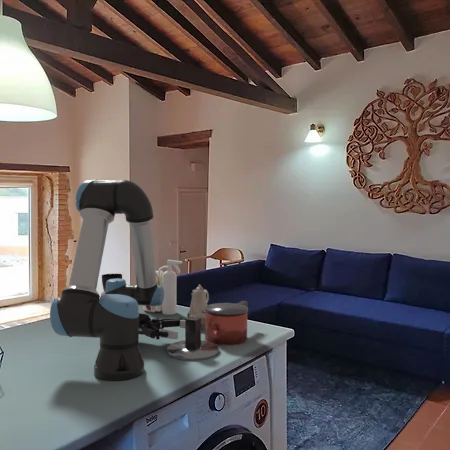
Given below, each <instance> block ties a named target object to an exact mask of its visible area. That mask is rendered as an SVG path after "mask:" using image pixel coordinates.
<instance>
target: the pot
mask: <svg viewBox="0 0 450 450" xmlns="http://www.w3.org/2000/svg"><path fill="white" fill-rule="evenodd" d="M248 302H249V301H247V300H241V301H239V302H237V303H233V302H217V303H211V304H207V306H205V311H206V317H205V328H204V330H205V333H204V336H205V339H204V340H205V341H208V342H212V343H215V344H216V345H218V346H220V345H221V346H235V345H241V344H244V343H246V342H247V341H248V312H249V307H248V305H249V304H248ZM246 340H247V341H246ZM245 341H246V342H245ZM243 342H244V343H243Z"/></svg>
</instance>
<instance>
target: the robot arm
mask: <svg viewBox="0 0 450 450" xmlns="http://www.w3.org/2000/svg"><path fill="white" fill-rule="evenodd" d="M77 188H78V189H77V190H76V194H75V207H76V209H77V211H78V214H79V216H80V218H81V219H82V222H81V226H80V230H79V231H80V232H79V234H78V235H79V236H78V241H77V246H76V251H75V255H74V259H73V263H72V268H71V273H70V279H69V282H68V286H66V287H65V288H64V289H62V292H61V296H59V297H56V298H54V299H53V300H52V302H51V305H50V309H49V320H50V324H51V325H50V326H51V328H52V330H53V331H54V333H55V334H56V335H58V336H62V337H63V336H64V337H69V338H72V337H75V338H76V337H79V338H95V339H97V338H98V339H99V349H98V352H97V356H96V359H95V363H94V366H93V371H94V372H93V374H94V376H95V377H96V378H98V379H100V380H104V381H105V380H106V381H125V380H130V379H134V378H137V377H140V376H141V375H142V374H143V373H144V371H145V361H144V359H143V356H142V352H141V349H140V347H139V346H140V345H139V335H143V336H147V337H148V338H151V339H155V340H156V341H157V340H158V341H159V340H160V339H161V338H163V339H169V340H170V339H171V340H178V339H179V331H177V330H171V329H166V328H176V327H177V328H181V329H185V320H184V319H183V317H156V318H151V317H150V315H149V314H147V313H140V312H139V306H143V305H145V306H160V305H161V304H162V303H163V300H164V289H163V287H162V286H159V285H158V286H157V279H156V271H157V270H156V261H155V260H156V259H155V250H154V241H153V231H152V230H153V229H152V220H153V219H154V210H153V206H152V203H151V201H150V199H149V196H148V195H147V193H146V192H145V191H144V190H143V188H141V186H139V185H138V184H137V183H136V182H133V181H131V180H127V179H90V180H89V179H88V180H85V181H83V182H82V183H80V184H79V186H78V187H77ZM116 214H117V215H119V214H121V215H122V214H123V215H124V217H125V221H126V223H128V225H129V231H130V240H131V249H132V257H133V266H134V271H135V272H134V275H135V281H136V284H127V282H126V279H124V278H122V279H118V278H117V279H109V280H107V282H106V290H105V295H102V296H101V294H100V293H99V292H98V290H97V286H98V281H99V276H100V271H101V265H102V260H103V256H104V250H105V245H106V240H107V234H108V229H109V225H110V224H111V223H113V222H114V220H115V217H116ZM164 328H165V329H164Z"/></svg>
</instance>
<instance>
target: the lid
mask: <svg viewBox="0 0 450 450" xmlns="http://www.w3.org/2000/svg"><path fill="white" fill-rule="evenodd" d="M184 329H185V330H184V331H185V335H184V337H185V339H184V340H181V341H180V340H179V341H175V342H173V343H171V344H169V345H168V346H167V348H166V352H167V355H168V356H169V357H171V358H173V359H176V360H181V361H203V360H208V359H211V358H215V357H216V356H217V355H218V354H219V349H220V347H219V345H217V344H215V343H212V342H208V341H206V340H202V329H201V318H198V317H189V318H188V317H186V318H185V328H184Z"/></svg>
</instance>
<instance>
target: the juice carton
mask: <svg viewBox="0 0 450 450" xmlns="http://www.w3.org/2000/svg"><path fill="white" fill-rule="evenodd" d="M158 272H159V270H156V279H157V286H158V285H159V286H160V281H159V276H158ZM163 273H164V271H163V270H161V273H160V275H161V280H163ZM142 306H143V307H142V308H143V311H144V312H150V313H157V312H159V311H156V310H154V309H155V307H156V306H145V305H142ZM161 311H162V306H161Z"/></svg>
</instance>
